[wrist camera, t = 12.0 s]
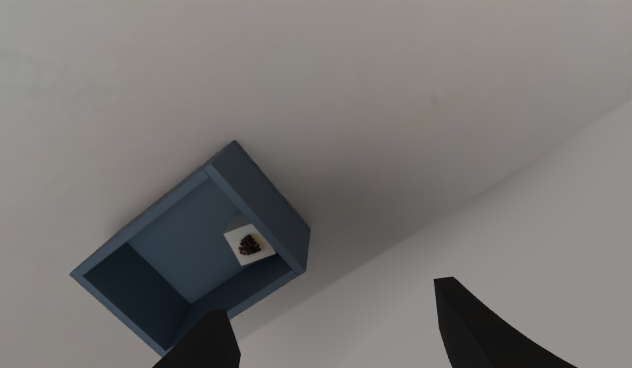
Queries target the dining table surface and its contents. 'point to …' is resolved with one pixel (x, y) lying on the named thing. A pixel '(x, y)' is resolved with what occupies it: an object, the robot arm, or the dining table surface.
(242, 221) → the cube with brown bumps
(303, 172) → the dining table surface
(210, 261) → the bin
